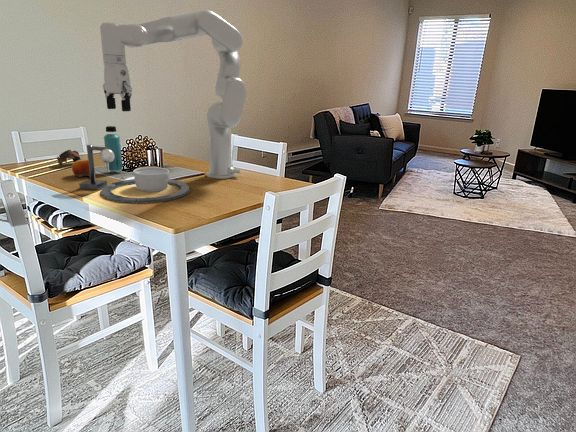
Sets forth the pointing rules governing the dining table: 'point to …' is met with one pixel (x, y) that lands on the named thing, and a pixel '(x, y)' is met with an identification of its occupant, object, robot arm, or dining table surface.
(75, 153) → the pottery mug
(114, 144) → the beverage bottle
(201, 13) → the robot arm
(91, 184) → the dial gauge stand
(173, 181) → the ring
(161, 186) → the ramekin
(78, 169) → the fruit
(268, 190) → the dining table surface
